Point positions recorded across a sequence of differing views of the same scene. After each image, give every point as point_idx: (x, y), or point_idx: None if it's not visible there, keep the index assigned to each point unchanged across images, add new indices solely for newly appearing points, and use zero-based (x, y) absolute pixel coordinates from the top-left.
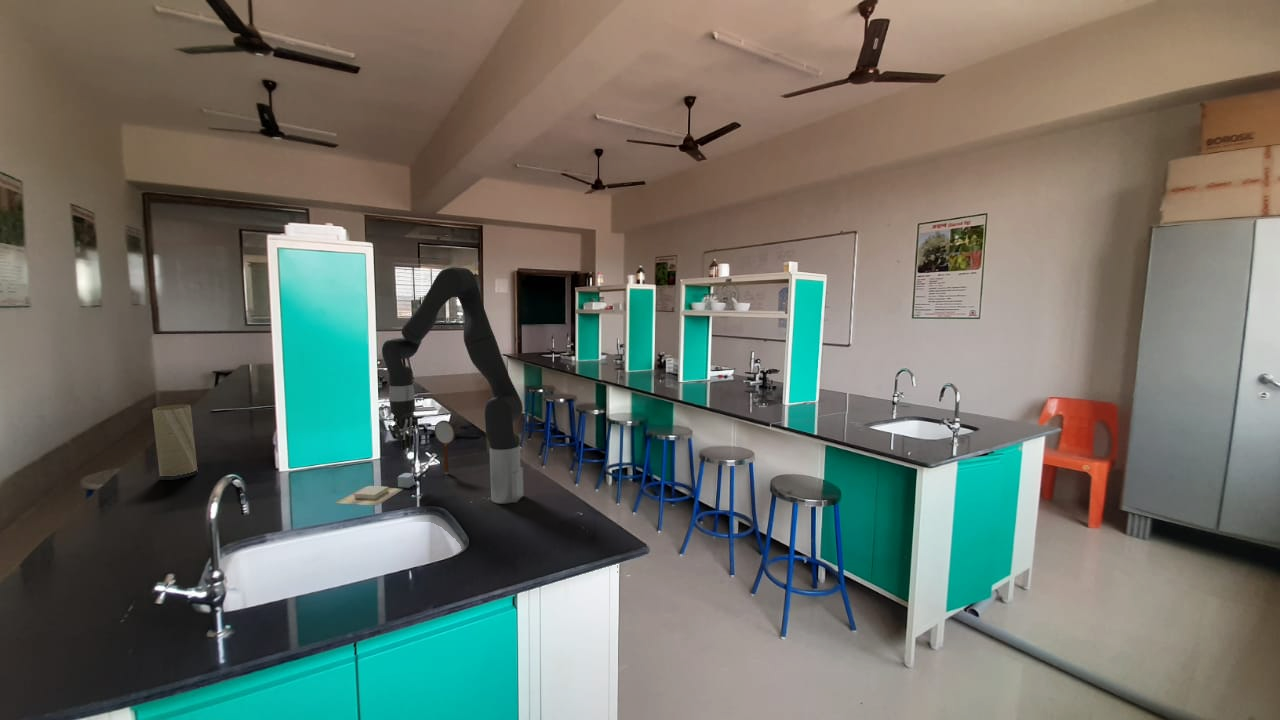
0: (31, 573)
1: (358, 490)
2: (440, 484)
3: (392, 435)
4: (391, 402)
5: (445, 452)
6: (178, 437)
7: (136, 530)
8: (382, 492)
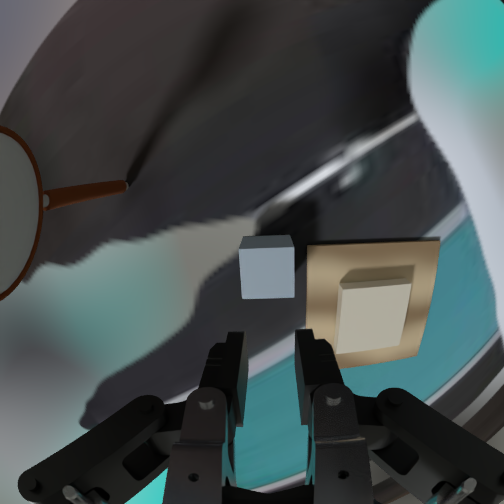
0: (499, 428)
1: None
2: (222, 142)
3: (414, 450)
4: None
5: (74, 191)
6: None
7: None
8: (372, 284)
